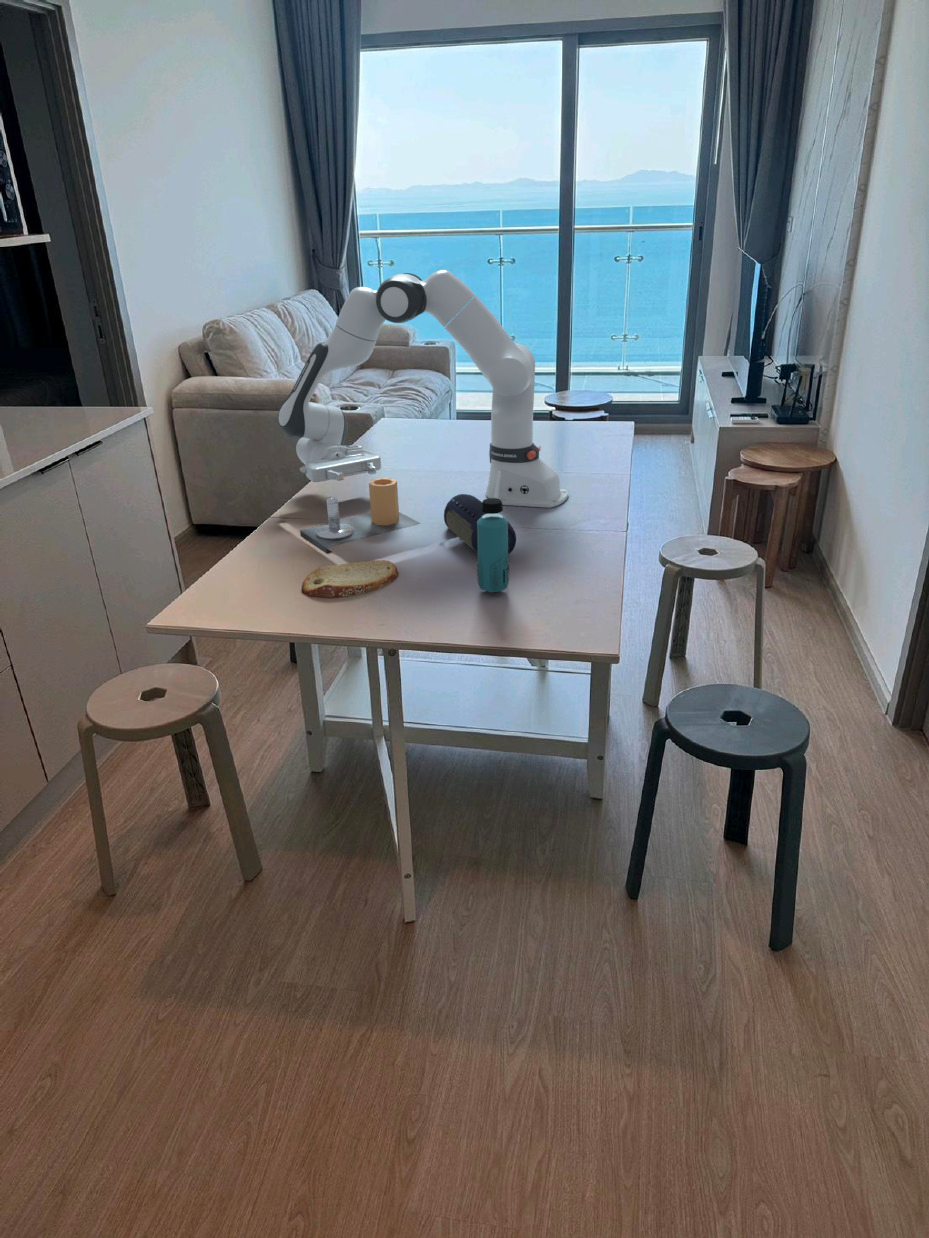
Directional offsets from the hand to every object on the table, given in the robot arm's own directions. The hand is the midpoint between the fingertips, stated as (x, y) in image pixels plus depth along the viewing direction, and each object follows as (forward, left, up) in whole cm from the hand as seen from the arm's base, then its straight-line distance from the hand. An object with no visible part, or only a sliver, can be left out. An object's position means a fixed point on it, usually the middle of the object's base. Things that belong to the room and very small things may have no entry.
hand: (357, 474), depth 212 cm
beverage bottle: (-51, +31, -11) cm, 61 cm away
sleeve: (-11, +6, -9) cm, 15 cm away
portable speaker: (-38, +9, -11) cm, 40 cm away
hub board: (-7, +12, -10) cm, 18 cm away
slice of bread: (-21, +38, -11) cm, 45 cm away
